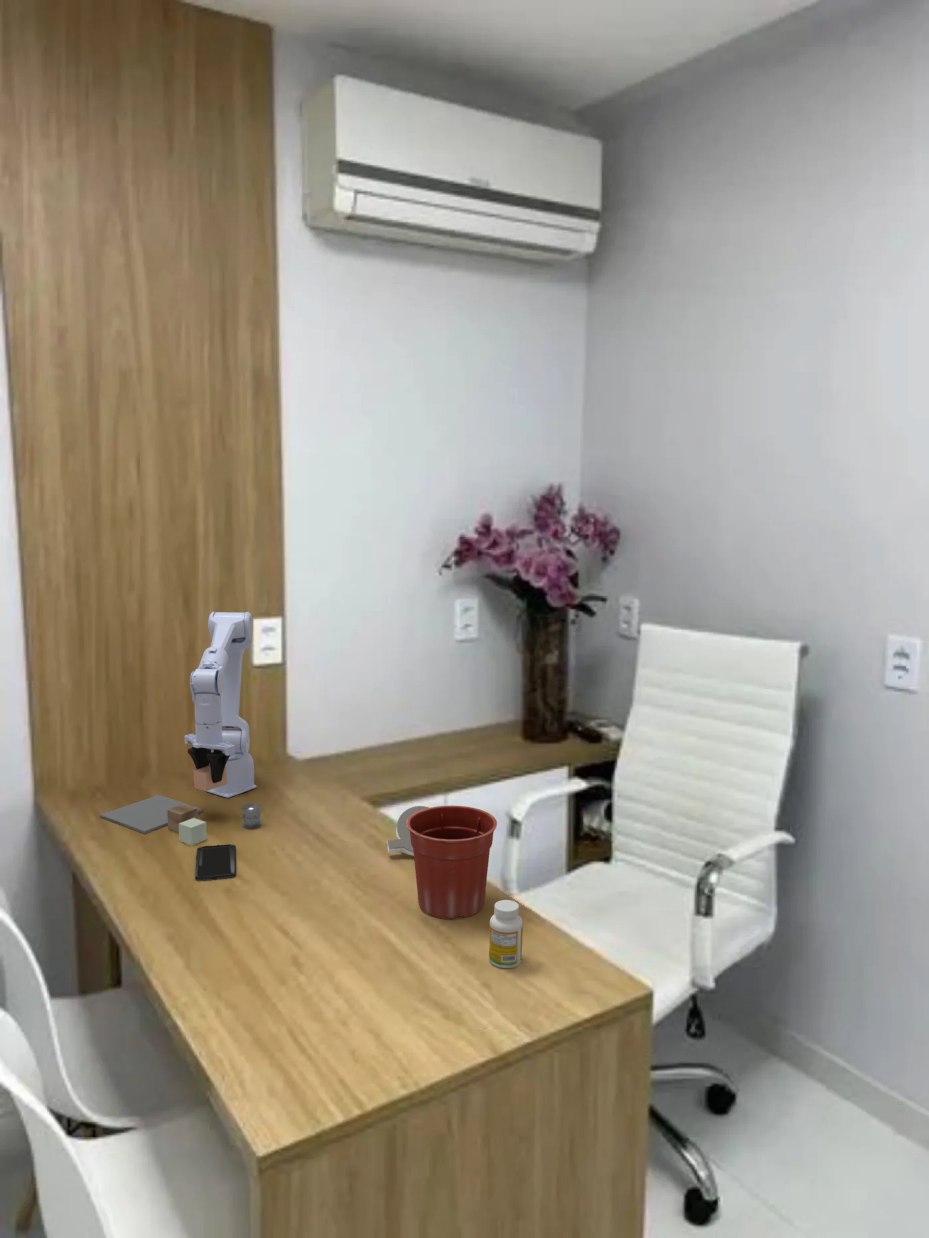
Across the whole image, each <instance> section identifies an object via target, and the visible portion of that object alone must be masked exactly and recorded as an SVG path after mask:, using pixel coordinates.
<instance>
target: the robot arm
mask: <svg viewBox="0 0 929 1238" xmlns="http://www.w3.org/2000/svg"><path fill="white" fill-rule="evenodd" d="M207 624H208V625H207V626H208V633H209V636H210V639H211V644H210V646H209V647H208V648H206V649H205V650H204V651H203V654H202V656H201V660H200V662H199V664H198V667H197V668H196V669H195V670H192V672H191V674H190V680H189V687H190V688H189V689H190V693H191V697H192V698H191V700H192V703H193V704H194V726H195V734H194V733H189V734H186V735H184V744H185V745H192V746H191V747H190V748H188V749H187V754H188V755H189V756H190V758H191V760H192V761H193V764H194V767H195V770H197V769H200V768H203V767H206V766H209V765H210V768H211V777H212V781H213V783H217V782H220V781H222V776H223V772H224V768H225V767H226V771H227V784H225V785H223V786H220V787H217V788H214V789H211V790H208V791H206V792H208V793H211V794H213V795H217V796H221V797H224V798H226V799H229V798H231V797H232V798H233V797H234V796H237V795H240V794H242V793H245V792H248V791H251V790H253V789H256V788H257V787H258V786H257V785H256V784H255V766H254V765H255V764H254V759H253V757H252V755H251V754H250V753H249V751H250V745H251V736H250V730H251V729H250V725H249V723H248V722H247V721H246V720H245V719H243V718H242V717H241V716H240V704H241V703H240V701H241V687H242V686H241V685H242V673H243V658H244V653H245V650H247V649H249V648H250V647H252V641H253V631H254V629H253V628H254V621H253V616H252V614H251V613H250V611H246V612H228V611H227V612H224V611H221V612H220V611H217V612H216V611H212V612H211V613H210V614H209V616H208V623H207Z"/></svg>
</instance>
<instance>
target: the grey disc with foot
mask: <svg viewBox="0 0 929 1238" xmlns="http://www.w3.org/2000/svg"><path fill="white" fill-rule="evenodd" d="M427 808H430V807H429V806H425V805H415V806H411V807H409V808H408V809H406V810H404V811H403V812H402V813H401V814H400V815H399V817H398V820H397V824H396V828H395V835H396V838H397V839H388V840H387V844H386V846H387V852H388V854H389V853H390V854H391V853H400V852H401V853H404V854H406V855H408V856H412V857H414V852H413V847H412V845H411V838H410V831H409V830H408V828H407V824H406V821H407V819H408V818H409V817H410V816H411V815H412V814H414V813H415V812H418V811H420V810H423V809H427Z"/></svg>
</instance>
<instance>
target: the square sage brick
mask: <svg viewBox="0 0 929 1238" xmlns="http://www.w3.org/2000/svg"><path fill="white" fill-rule="evenodd" d="M178 838H179V839H178V841H179V842H180V843H183V842H184V844H186V845H188V846H194V845H197V844H199V843H202V842H204V841H207V840H208V839H207V838H208V836H207V821H204V820H202V819H196V818H192V819H190V820H187V821H184V822H182V823H179V833H178Z"/></svg>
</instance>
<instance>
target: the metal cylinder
mask: <svg viewBox="0 0 929 1238" xmlns="http://www.w3.org/2000/svg"><path fill="white" fill-rule="evenodd" d="M241 808H242V809H241V810H242V811H241V812H242V815H241V816H242V828H243V829H246V830H257V829H259V828H261V826H262V807H261V804H260V803H255V802H253V803H246V804H244V805H242V807H241Z"/></svg>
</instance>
